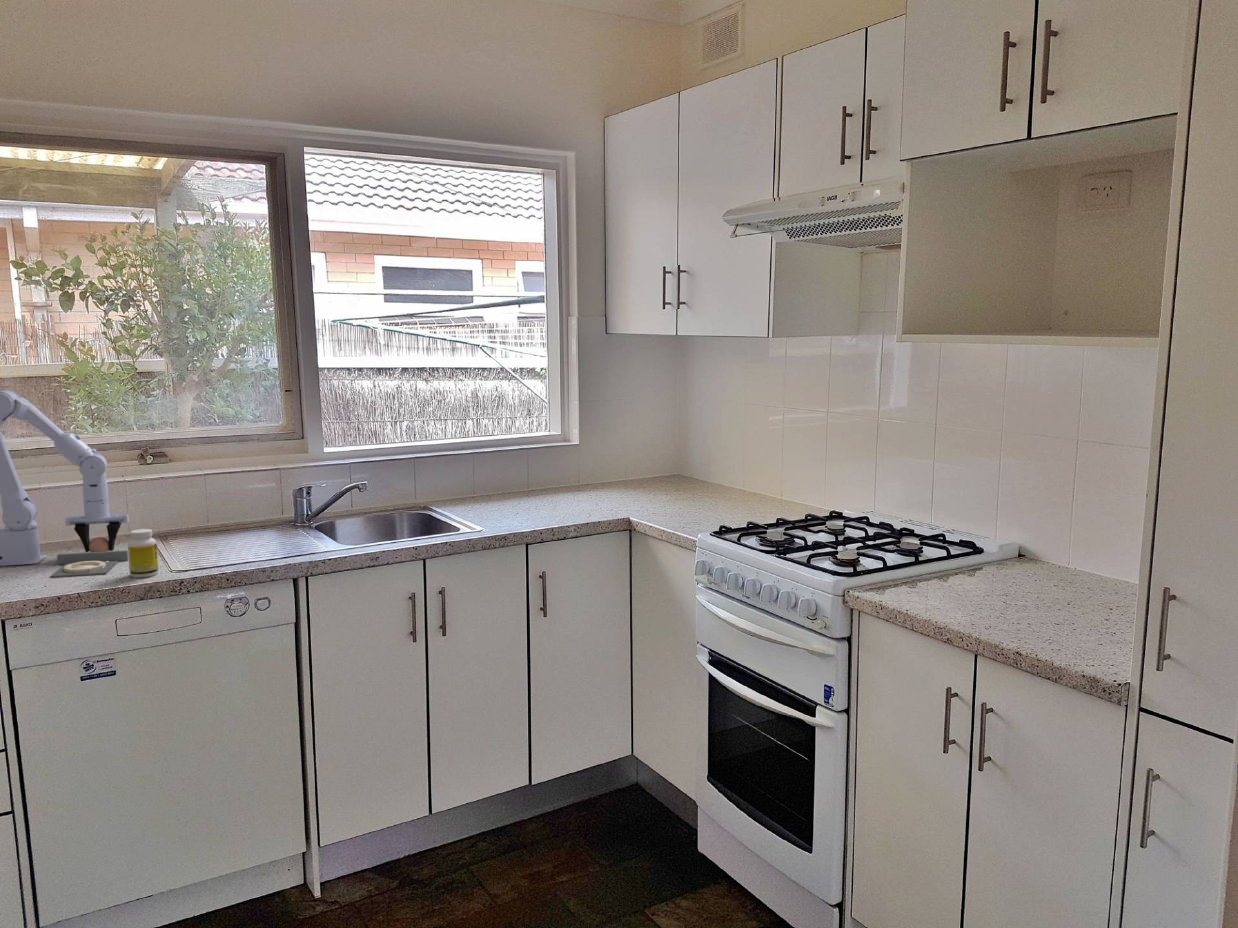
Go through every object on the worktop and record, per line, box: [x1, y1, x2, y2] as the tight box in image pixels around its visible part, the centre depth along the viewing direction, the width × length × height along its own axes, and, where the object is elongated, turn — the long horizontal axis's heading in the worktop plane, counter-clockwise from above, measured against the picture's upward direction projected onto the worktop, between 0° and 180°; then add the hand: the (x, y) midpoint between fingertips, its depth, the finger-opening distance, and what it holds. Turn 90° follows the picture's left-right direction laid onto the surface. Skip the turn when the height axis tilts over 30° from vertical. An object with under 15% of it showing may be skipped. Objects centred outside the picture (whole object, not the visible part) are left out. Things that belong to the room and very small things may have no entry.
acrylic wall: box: [56, 549, 129, 566], centre depth 235 cm, size 16×1×2 cm, turn 107°
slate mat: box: [50, 561, 119, 579], centre depth 228 cm, size 12×12×1 cm
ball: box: [89, 536, 109, 552], centre depth 242 cm, size 5×5×5 cm
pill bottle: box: [127, 528, 159, 579], centre depth 223 cm, size 6×6×11 cm
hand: (99, 550), depth 242 cm, fingers closed on ball, 5 cm apart
